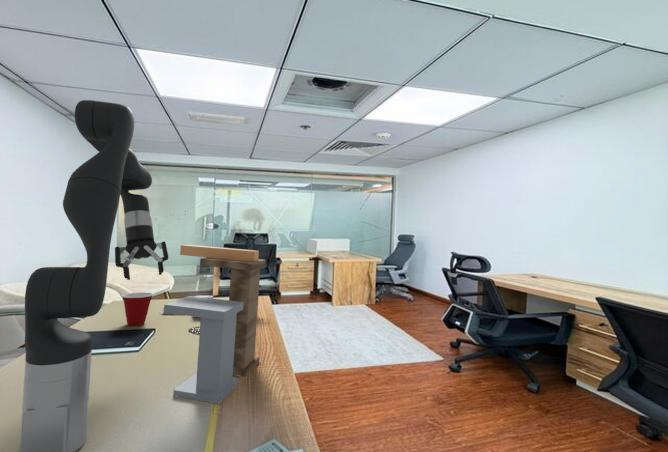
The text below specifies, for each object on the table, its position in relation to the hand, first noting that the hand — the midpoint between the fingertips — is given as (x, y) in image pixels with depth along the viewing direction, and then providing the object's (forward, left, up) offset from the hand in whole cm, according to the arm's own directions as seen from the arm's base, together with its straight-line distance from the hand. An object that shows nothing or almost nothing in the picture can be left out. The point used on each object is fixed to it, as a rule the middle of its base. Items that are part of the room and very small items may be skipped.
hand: (145, 277), depth 99 cm
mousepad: (+19, -20, -25) cm, 37 cm away
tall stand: (-13, -26, -24) cm, 38 cm away
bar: (-11, -21, +8) cm, 25 cm away
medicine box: (+39, -17, -24) cm, 49 cm away
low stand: (-25, -19, -24) cm, 40 cm away
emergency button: (+47, -7, -25) cm, 53 cm away
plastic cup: (+31, +7, -24) cm, 40 cm away
